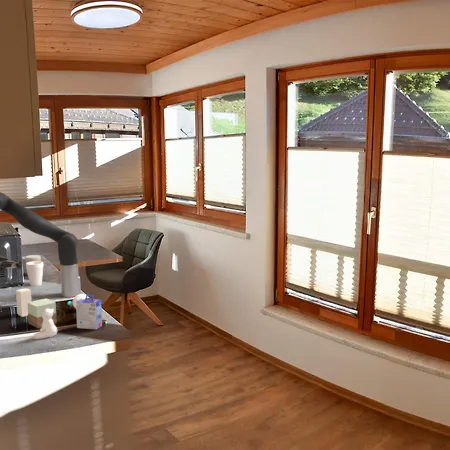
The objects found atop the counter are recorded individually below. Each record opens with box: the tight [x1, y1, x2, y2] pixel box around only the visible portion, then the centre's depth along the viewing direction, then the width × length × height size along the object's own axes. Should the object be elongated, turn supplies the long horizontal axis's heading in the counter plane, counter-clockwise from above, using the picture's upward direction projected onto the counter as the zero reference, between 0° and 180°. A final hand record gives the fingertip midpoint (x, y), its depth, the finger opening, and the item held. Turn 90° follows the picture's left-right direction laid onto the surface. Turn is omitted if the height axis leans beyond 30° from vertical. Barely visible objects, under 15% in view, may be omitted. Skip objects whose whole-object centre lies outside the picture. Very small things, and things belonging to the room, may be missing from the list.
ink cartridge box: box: [75, 293, 103, 330], centre depth 223 cm, size 10×6×14 cm, turn 78°
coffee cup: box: [24, 254, 42, 276], centre depth 317 cm, size 9×9×12 cm
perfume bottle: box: [67, 293, 89, 309], centre depth 249 cm, size 8×8×12 cm
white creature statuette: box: [33, 308, 58, 340], centre depth 213 cm, size 10×9×12 cm
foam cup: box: [25, 260, 45, 287], centre depth 294 cm, size 10×9×13 cm
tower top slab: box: [27, 297, 57, 318], centre depth 228 cm, size 9×9×5 cm
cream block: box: [15, 287, 32, 317], centre depth 241 cm, size 5×5×12 cm
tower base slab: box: [27, 312, 58, 329], centre depth 229 cm, size 9×9×5 cm
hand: (11, 267), depth 246 cm, fingers open, 8 cm apart
